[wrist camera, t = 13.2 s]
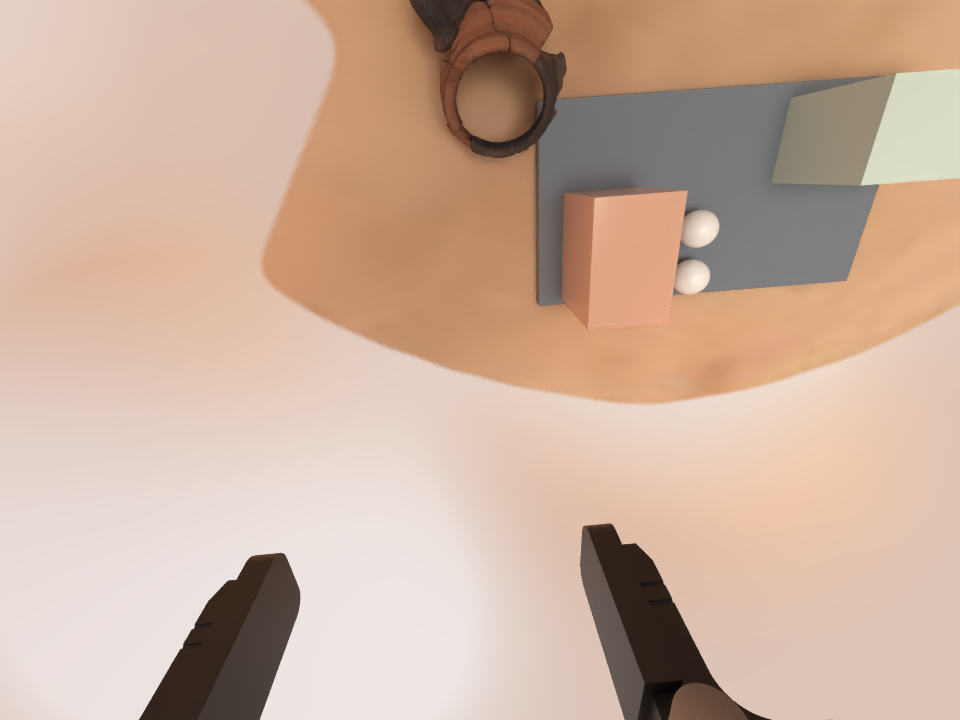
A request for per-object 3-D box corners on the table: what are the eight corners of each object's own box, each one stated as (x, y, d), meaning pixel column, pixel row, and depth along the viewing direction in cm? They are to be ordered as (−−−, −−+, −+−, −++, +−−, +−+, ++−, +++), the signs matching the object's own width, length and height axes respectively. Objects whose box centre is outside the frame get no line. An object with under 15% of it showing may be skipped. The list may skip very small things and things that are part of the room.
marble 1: (673, 209, 33) (693, 212, 30) (708, 206, 33) (731, 209, 30) (668, 246, 34) (687, 252, 32) (702, 243, 34) (723, 249, 32)
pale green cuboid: (771, 183, 33) (860, 185, 25) (790, 97, 30) (896, 73, 23) (876, 175, 33) (995, 175, 26) (905, 89, 30) (1045, 62, 23)
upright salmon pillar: (563, 192, 32) (594, 197, 25) (635, 187, 32) (687, 190, 25) (561, 298, 36) (587, 330, 29) (625, 293, 36) (668, 323, 29)
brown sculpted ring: (583, 37, 29) (602, 85, 24) (502, 141, 35) (505, 195, 31) (446, -115, 23) (437, -89, 18) (379, 43, 29) (359, 91, 25)
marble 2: (667, 257, 35) (685, 264, 32) (700, 254, 35) (721, 261, 32) (662, 290, 36) (679, 299, 33) (694, 287, 36) (714, 297, 33)
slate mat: (536, 102, 30) (538, 100, 29) (903, 76, 31) (916, 73, 30) (537, 302, 37) (539, 305, 36) (837, 278, 38) (846, 280, 37)
